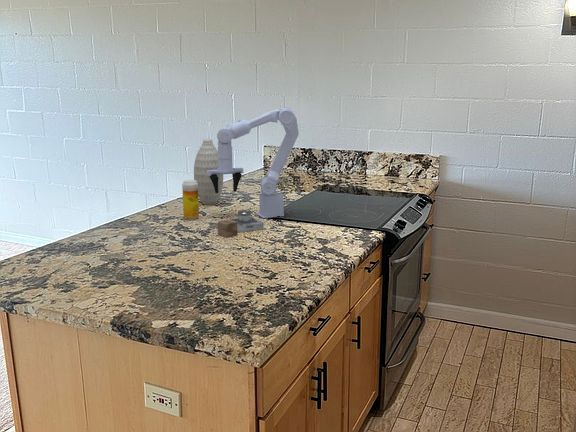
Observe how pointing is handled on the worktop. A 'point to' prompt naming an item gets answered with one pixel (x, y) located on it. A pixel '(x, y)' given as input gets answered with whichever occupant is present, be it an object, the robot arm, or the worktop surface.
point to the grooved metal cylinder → (244, 217)
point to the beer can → (190, 199)
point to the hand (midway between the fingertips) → (225, 192)
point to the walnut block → (227, 228)
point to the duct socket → (249, 225)
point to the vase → (204, 162)
